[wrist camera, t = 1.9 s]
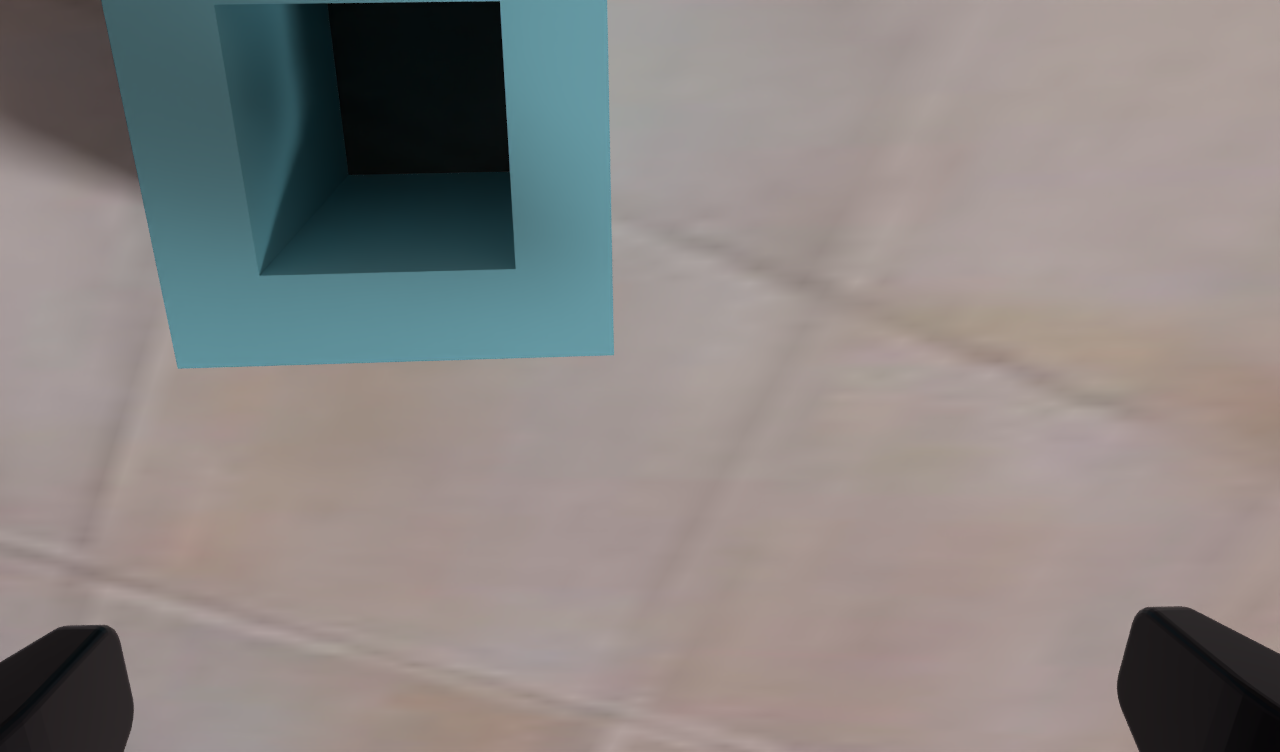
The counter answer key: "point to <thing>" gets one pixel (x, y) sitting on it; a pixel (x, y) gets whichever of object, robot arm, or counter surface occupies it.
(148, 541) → the counter surface
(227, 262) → the square socket block
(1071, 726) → the counter surface
